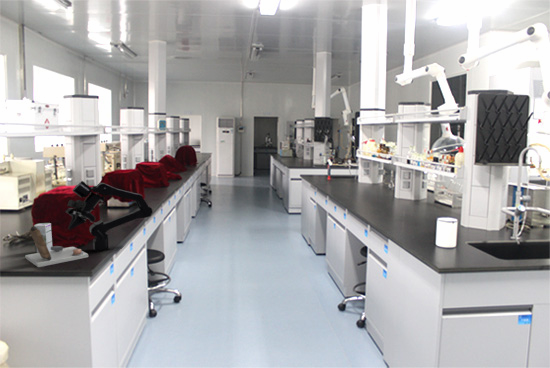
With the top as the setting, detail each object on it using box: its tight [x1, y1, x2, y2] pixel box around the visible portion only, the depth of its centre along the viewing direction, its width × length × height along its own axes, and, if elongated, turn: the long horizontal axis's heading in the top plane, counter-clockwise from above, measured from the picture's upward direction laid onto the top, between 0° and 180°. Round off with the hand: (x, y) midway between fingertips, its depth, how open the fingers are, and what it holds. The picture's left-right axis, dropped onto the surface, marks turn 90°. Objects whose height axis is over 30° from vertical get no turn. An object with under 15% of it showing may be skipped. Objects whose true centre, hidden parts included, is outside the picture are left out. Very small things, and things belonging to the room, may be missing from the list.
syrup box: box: [33, 222, 53, 253], centre depth 208 cm, size 6×6×14 cm
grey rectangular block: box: [51, 245, 64, 251], centre depth 204 cm, size 4×3×2 cm
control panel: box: [24, 246, 89, 268], centre depth 198 cm, size 22×20×2 cm
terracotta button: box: [73, 248, 82, 255], centre depth 198 cm, size 4×4×2 cm
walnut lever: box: [28, 225, 51, 260], centre depth 188 cm, size 3×6×17 cm, turn 53°
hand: (69, 228), depth 199 cm, fingers closed
